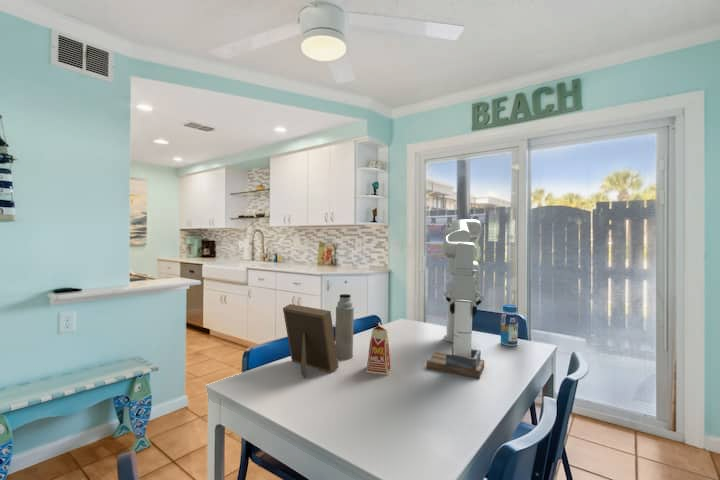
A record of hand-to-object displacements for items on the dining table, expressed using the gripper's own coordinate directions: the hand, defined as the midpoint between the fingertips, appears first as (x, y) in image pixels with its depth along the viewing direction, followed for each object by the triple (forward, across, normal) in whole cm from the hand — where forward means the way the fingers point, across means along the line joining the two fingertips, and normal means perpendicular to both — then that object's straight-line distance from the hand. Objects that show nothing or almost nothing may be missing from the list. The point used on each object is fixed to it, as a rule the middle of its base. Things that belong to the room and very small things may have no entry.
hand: (463, 314), depth 149 cm
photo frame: (+23, +56, +32) cm, 69 cm away
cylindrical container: (+20, 0, 0) cm, 20 cm away
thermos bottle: (+23, +50, +11) cm, 56 cm away
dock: (+23, +2, 0) cm, 23 cm away
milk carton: (+23, +30, +18) cm, 42 cm away
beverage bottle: (+23, -15, -49) cm, 56 cm away
